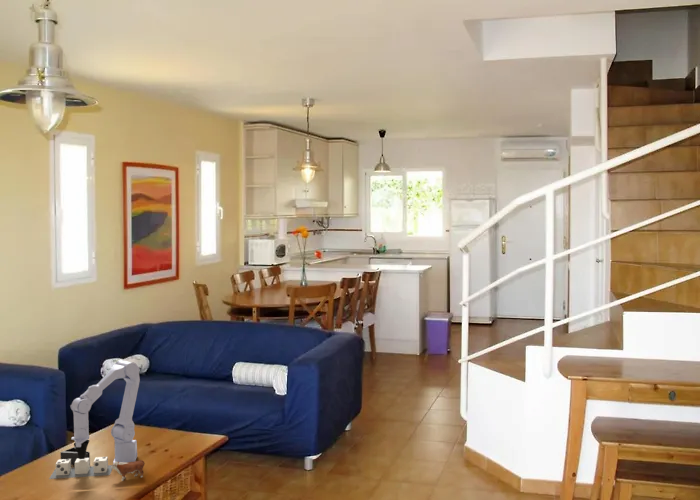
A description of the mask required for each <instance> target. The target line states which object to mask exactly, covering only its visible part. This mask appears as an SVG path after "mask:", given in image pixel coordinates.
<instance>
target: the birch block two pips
mask: <svg viewBox="0 0 700 500" xmlns="http://www.w3.org/2000/svg"><path fill="white" fill-rule="evenodd" d="M108 460H109V458H108V456H96V457H95V458H94V460H93V466H94V473H103V472H107V469H108V465H109V461H108Z"/></svg>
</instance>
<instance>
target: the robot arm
mask: <svg viewBox="0 0 700 500" xmlns="http://www.w3.org/2000/svg"><path fill="white" fill-rule="evenodd" d="M120 378H121V379H123V380H124V382H126V383H125V387H124V393H123V396H122V402H121V406H120V407H121V408H120V412H119V416H118V418H117V419H116V420H115V421H114V424H113V426H112V427H111V430H110V434H111V436H112V437H113V440H114V459H113V462H112V463H113V464H114V463H115V462H119V463H120V462H123V463H129V462H135V461H137V457H138V443H137V442H138V441H137V439H134V437H135V433H136V432H135V427H136V425H135V423H134V421H133V415H134V411H135V405H136V401H137V396H138V391H139V387H140V381H141V379H140V378H141V377H140V367H139V365H138V364H137V363H135V362H132V361H128V360H124V359H119V360H117V361H116V362H115V363H114V364H113V365H112V366H111V368H110V370H109V371H108V372H107V373H106V374H105V375H104V377H102V378H101V379H100V381H98V383H96V384H92V385H90V386H88V388H87V389H86V391H84V392H83V393H82V394H80V396H79V397H76V398H74V399H73V401H72V402H71V404H70V405H69V406H70V409H71V411H72V413H73V432H74V433H73V435H74V436H72V437H71V440H72V441H74V443H73V447H75V448H76V450H77V453H78V457H79V459H85V456H86V451H87V449H88V445H89V443H90V435H89V434H90V433H89V431H90V430H89V429H90V428H89V412H90V410H91V408H92V405H93V404H94V403H95V402H96V401H97V400H98V399H99V398H100V397H101V396H102V395H103V390H105V389H106V388H107V387H108V386H110V385H111V384H112V383H113V382H114V381H115V380H116V379H120Z"/></svg>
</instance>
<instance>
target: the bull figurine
mask: <svg viewBox="0 0 700 500" xmlns="http://www.w3.org/2000/svg"><path fill="white" fill-rule="evenodd" d="M145 464H146V463H145V461H144V460H142V459H141V460H136V461H135V462H115V463H113V464H111V465H112V466H111V469H112V470H114V471H116V472H117V474H119V475H120V476H122V477H121V482H123V481H125V479H126V475H127V474H131V475H134V477H138V475H140V478H143V477H144V467H145ZM134 473H135V474H134Z"/></svg>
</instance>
